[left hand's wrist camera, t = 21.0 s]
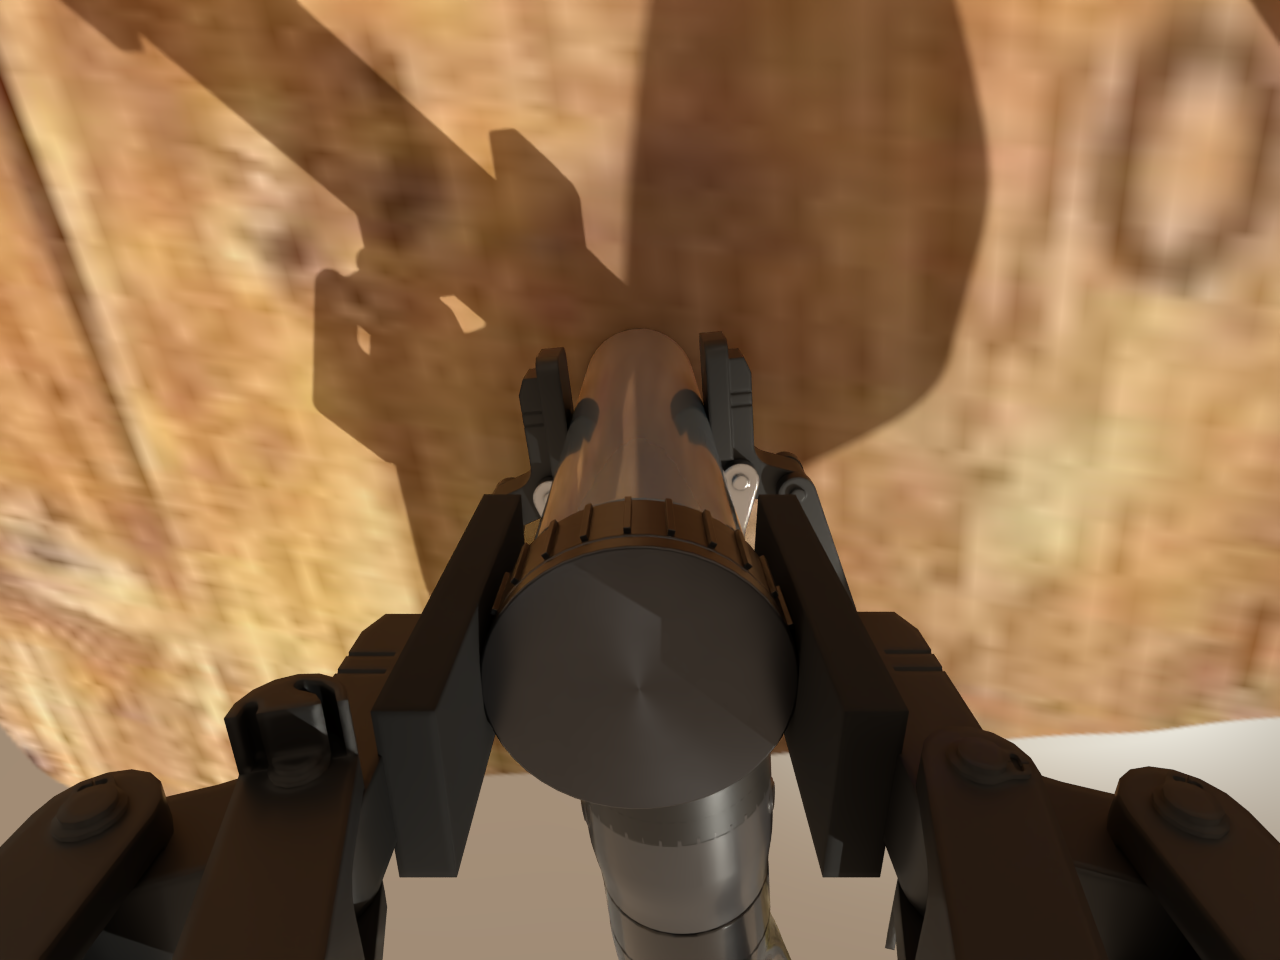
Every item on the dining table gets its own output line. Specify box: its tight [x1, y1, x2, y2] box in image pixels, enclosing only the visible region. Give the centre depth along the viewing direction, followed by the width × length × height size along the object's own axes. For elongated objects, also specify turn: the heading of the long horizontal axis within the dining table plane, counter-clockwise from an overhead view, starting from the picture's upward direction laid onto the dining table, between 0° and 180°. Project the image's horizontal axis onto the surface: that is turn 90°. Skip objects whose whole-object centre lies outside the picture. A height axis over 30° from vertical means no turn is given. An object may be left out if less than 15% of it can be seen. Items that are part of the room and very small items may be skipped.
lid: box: [480, 496, 799, 809], centre depth 12 cm, size 5×5×2 cm
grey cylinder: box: [534, 329, 745, 540], centre depth 20 cm, size 4×4×18 cm
